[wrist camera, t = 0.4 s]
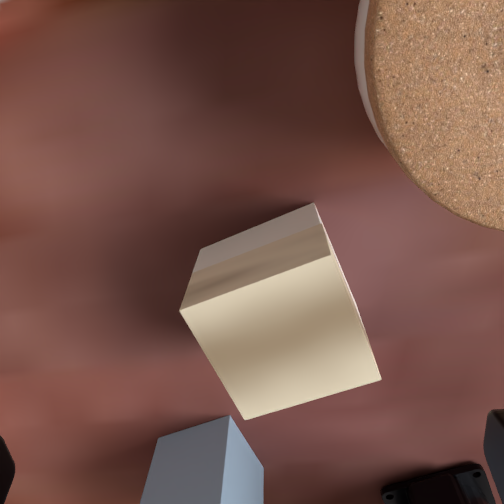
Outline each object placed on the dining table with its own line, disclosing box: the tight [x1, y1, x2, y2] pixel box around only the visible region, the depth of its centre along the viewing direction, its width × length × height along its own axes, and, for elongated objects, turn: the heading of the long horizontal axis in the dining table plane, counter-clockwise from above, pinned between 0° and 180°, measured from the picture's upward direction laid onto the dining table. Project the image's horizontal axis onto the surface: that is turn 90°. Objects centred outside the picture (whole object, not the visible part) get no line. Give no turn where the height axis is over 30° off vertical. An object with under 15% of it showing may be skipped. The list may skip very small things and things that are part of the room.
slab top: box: [179, 223, 382, 420], centre depth 18 cm, size 6×6×3 cm
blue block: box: [140, 415, 264, 504], centre depth 25 cm, size 5×5×6 cm
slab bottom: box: [192, 202, 364, 327], centre depth 21 cm, size 6×6×3 cm
